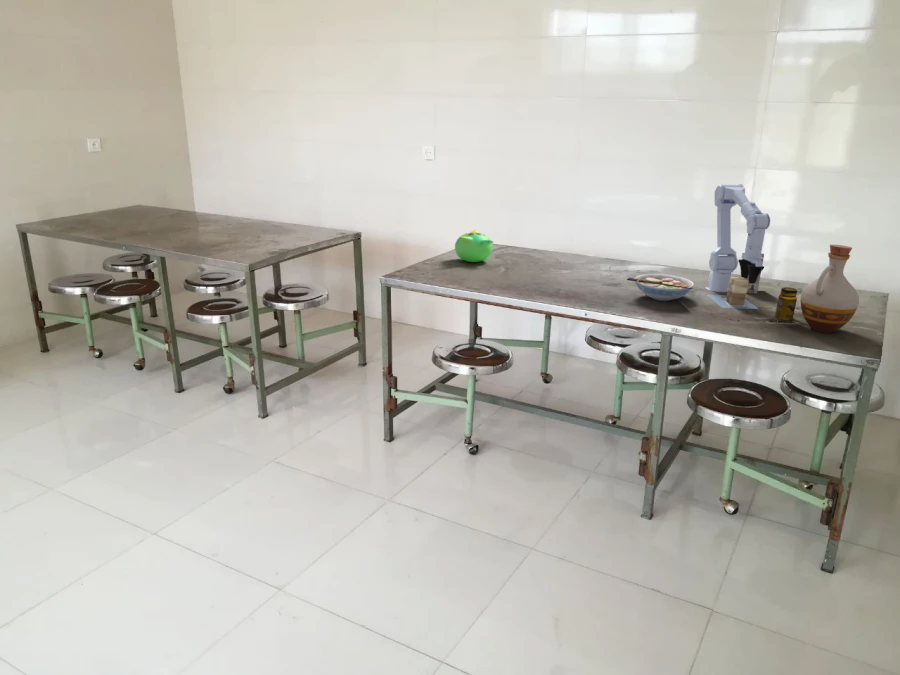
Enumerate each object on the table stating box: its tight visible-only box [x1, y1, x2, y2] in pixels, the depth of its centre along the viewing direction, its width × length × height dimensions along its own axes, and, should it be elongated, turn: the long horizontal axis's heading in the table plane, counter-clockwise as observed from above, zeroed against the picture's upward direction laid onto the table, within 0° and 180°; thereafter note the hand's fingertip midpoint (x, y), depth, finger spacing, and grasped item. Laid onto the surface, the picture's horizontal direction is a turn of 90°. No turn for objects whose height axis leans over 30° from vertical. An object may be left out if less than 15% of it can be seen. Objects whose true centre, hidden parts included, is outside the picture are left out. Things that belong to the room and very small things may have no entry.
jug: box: [800, 244, 860, 334], centre depth 233 cm, size 20×18×30 cm
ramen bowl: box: [626, 273, 695, 302], centre depth 270 cm, size 25×23×8 cm
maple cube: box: [728, 276, 748, 294], centre depth 260 cm, size 5×5×5 cm
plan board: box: [706, 294, 759, 310], centre depth 266 cm, size 18×14×1 cm
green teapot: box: [454, 229, 494, 263], centre depth 322 cm, size 18×17×15 cm
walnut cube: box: [726, 290, 747, 306], centre depth 262 cm, size 5×5×5 cm
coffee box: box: [745, 253, 765, 294], centre depth 280 cm, size 9×6×16 cm
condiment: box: [770, 286, 798, 325], centre depth 246 cm, size 7×8×12 cm
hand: (747, 280), depth 259 cm, fingers open, 7 cm apart
